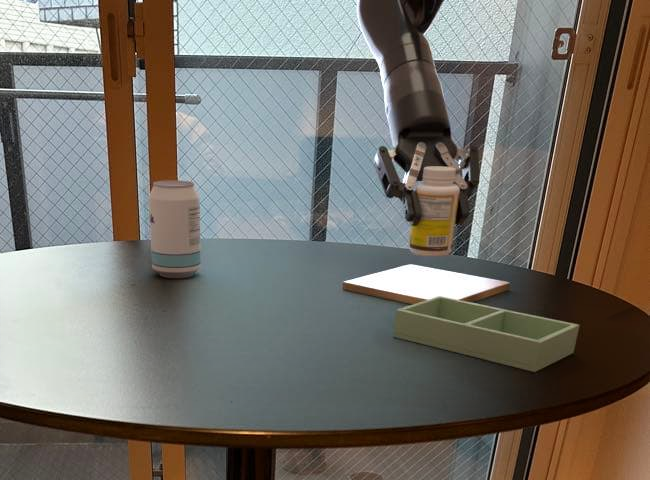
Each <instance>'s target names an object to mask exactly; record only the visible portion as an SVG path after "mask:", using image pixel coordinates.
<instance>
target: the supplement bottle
mask: <svg viewBox="0 0 650 480" xmlns="http://www.w3.org/2000/svg"><path fill="white" fill-rule="evenodd" d="M455 173H456V169H455V168H452V167H443V166H429V167H424V171H423V176H422V177H423V179H422V180H423V181H422V182H420V183H418V184H417V185H415V188H414V191H417V195H418V200H419V205H420V210H421V219H420V221H419V223H418V224H417V226H411V225H410V236H409V237H410V238H409V246H408V247H409V248H408V249H409V251H410V252H411V253H412V254H414V255H417V256H423V257H442V256H447V255H449V254H450V253H451V252H452V251H453V244H454V236H455V229H456V223H455V222H456V215H457V207H458V200H459V192H460V189H459V187H458V186H457V185H455V184H453V182H454V181H455Z"/></svg>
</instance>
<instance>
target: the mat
mask: <svg viewBox="0 0 650 480" xmlns="http://www.w3.org/2000/svg"><path fill="white" fill-rule="evenodd" d="M510 288H511V282H510V281H506V280H505V281H504V280H499V279H493V278H488V277H482V276H477V275H471V274H466V273H462V272H455V271H449V270H445V269H438V268H433V267H428V266H423V265H417V264H412V263H410V264H406V265H401V266H397V267H395V268H390V269H386V270H383V271H379V272H374V273H371V274H367V275H363V276H360V277H356V278H353V279H349V280H344V281H342V288H341V289H342V290H344V291H348V292H354V293H358V294H363V295H367V296H372V297H375V298H380V299H385V300H388V301H393V302H398V303H399V302H400V303H403V304H408V305H413V304H416V303H419V302H422V301H426V300H429V299H432V298H435V297H438V296H442V297H446V298H451V299H456V300H461V301H466V302H471V303H475V302H478V301H481V300H484V299H486V298H489V297H492V296H496V295H498V294H501V293H504V292H507V291H509V290H510Z"/></svg>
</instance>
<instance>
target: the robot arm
mask: <svg viewBox="0 0 650 480" xmlns="http://www.w3.org/2000/svg"><path fill="white" fill-rule="evenodd" d="M445 1H446V0H357V1H356V14H357V15H356V16H357V21H358V24H359V27H360V31H361V33H362V35H363V38H364V39H365V42H366V43H367V46H368V48H369V50H370V52H371V54H372V56H373V57H374V59H375V60H376V62H377V64H378V68H379V73H380V79H381V83H382V88H383V95H384V97H383V98H384V99H383V100H384V108H385V109H384V111H385V115H386V118H387V122H388V128H389V133H390V137H391V142H392V143H391V144H392V147H393V148H392V149H391V148H390V149H388V148H387V147H386V146H385V145H381V146H379V147H378V148H377V152H376V154H375V157H374V159H373V161H372V163H373V167H374V170H375V172H376V174H377V177H378V181H379V182H380V185H381V187H382V190H383V192H384V195H385V197H386V198H388V199H393V198H397V199H399V201H400V202H401V205H402V210H403V215H404V219H405V221H406V222H409V225H410V227H411V226H417V224H418V223H419V221H420V219H421V210H420V205H419V200H418V195H417V191H415V188H416V183H417V182H424V181H423V180H422V179H423V177H422V176H423V171H424V167H429V166H443V167H452V168H455V169H456V173H455V181H454V182H453V184H455V185H457V186H458V187H459V189H460V192H459V200H458V207H457V215H456V222H455V226H462V225H464V223H465V222H466V220H467V218H468V217H469V215H470V213H471V207H470V203H469V198H470V197H471V196H472V195H473V193H474V191H475V189H476V188H477V186H479V184H480V159H479V158H480V157H479V147H477V146H476V145H470V146H469V148H468V149H465V148H464V149H463V148H458V146H457V144H456V143H455V142H454V141H453V139H452V127H451V122H450V117H449V113H448V109H447V105H446V100H445V96H444V92H443V87H442V83H441V80H440V78H439V75H438V73H437V69H436V64H435V61H434V56H433V52H432V51H433V50H432V47H431V44H430V42H429V39H428V38H427V37H426V35H425V34H427V32H428V31H429V30H430V27H431V26H432V24H433V22H434V21H435V19H436V17H437V15H438V13H439V12H440V10H441V8H442V6H443V4H444V2H445ZM455 160H456V161H457V162H458V164H457V163H456V161H455ZM394 163H396V164H397V166H399V167H400V168H401V169H402V171H404V172H405V173H404V177H403V180H402V181H401V180H400V177H399V175H398V172H397V170H396V167H395V165H394ZM458 165H459V166H458ZM460 170H461V171H462V173H460V172H461V171H460ZM461 174H462V175H461Z"/></svg>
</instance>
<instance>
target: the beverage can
mask: <svg viewBox="0 0 650 480" xmlns="http://www.w3.org/2000/svg"><path fill="white" fill-rule="evenodd" d="M152 185H153V186H152V189H151V191H150V193H149V195H148V208H149V209H148V210H149V213H148V214H149V229H150V231H149V233H150V250H151V253H150V255H151V268H152V269H153V270H154V271H155V272H157V273H158V274H159V276H160V277H163V278H167V279H186V278H190V277H193V276H194V275H195V274H196V272H198V271H199V270H200V269H201V268H202V257H201V255H202V254H201V250H202V249H201V205H200V203H201V202H200V201H201V197H200V195H199V193H198V191H197V189H196V187H195V182H193V181H190V180H189V181H188V180H158V181H154V182H153V184H152Z"/></svg>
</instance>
